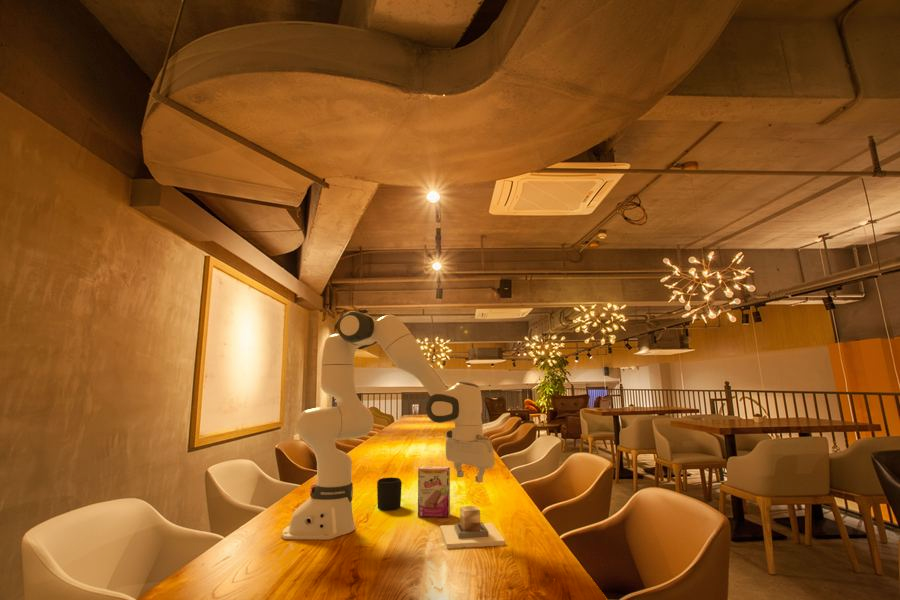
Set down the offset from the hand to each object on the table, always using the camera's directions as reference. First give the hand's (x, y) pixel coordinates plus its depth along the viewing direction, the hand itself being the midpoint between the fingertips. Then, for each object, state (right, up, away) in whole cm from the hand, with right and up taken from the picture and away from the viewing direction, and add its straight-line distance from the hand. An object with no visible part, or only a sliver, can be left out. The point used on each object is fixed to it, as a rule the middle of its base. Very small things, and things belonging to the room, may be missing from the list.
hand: (469, 479), depth 138 cm
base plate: (0, -16, -3) cm, 17 cm away
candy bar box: (-12, -21, +19) cm, 30 cm away
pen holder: (-29, -23, +30) cm, 48 cm away
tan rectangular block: (0, -15, -3) cm, 15 cm away
